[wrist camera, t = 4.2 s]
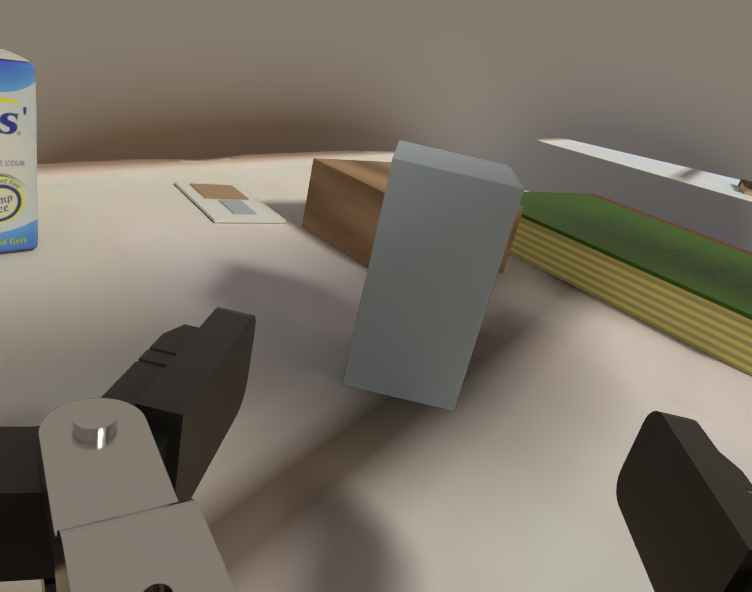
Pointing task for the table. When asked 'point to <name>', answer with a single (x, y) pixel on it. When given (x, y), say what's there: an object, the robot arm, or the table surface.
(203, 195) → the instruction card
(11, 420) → the table surface
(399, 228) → the top brick
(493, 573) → the table surface
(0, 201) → the medicine box
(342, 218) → the base brick
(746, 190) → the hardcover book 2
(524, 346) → the table surface
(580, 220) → the hardcover book
